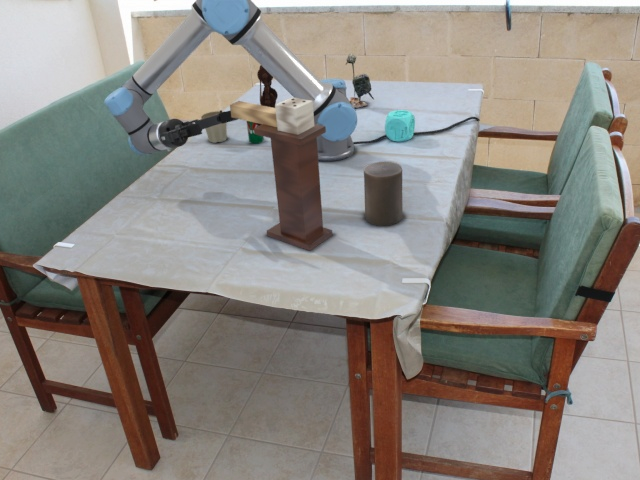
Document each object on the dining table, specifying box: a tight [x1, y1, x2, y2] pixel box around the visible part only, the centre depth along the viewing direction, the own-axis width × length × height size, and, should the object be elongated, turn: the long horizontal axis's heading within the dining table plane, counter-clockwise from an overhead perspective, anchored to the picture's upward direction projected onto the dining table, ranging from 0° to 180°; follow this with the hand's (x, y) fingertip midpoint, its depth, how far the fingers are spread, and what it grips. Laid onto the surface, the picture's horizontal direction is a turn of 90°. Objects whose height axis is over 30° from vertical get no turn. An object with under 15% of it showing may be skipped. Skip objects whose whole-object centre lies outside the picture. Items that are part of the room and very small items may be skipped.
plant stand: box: [254, 124, 333, 252], centre depth 155 cm, size 14×9×28 cm, turn 52°
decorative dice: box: [384, 109, 416, 142], centre depth 212 cm, size 8×8×8 cm
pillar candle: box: [363, 161, 404, 227], centre depth 164 cm, size 10×10×15 cm
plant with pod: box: [345, 52, 375, 109], centre depth 239 cm, size 8×11×20 cm
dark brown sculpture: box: [256, 64, 279, 108], centre depth 233 cm, size 15×15×20 cm
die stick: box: [229, 96, 314, 135], centre depth 149 cm, size 22×6×6 cm, turn 52°
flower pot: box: [199, 110, 228, 144], centre depth 221 cm, size 9×9×9 cm
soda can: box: [245, 120, 265, 145], centre depth 216 cm, size 5×5×12 cm
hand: (218, 121), depth 162 cm, fingers open, 13 cm apart
